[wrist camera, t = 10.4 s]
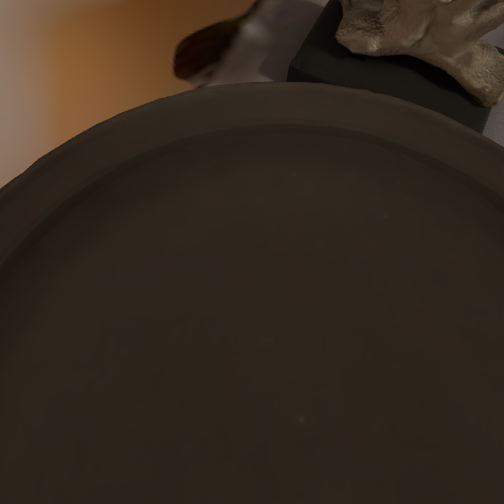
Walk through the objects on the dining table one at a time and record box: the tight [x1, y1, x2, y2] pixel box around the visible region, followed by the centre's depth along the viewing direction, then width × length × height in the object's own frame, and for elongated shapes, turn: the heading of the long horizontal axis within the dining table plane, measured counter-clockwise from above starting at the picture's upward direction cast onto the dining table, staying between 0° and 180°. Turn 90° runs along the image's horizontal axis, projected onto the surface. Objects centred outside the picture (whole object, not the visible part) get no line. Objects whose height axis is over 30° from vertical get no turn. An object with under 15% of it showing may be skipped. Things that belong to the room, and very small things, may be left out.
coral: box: [287, 0, 504, 134], centre depth 33 cm, size 25×20×22 cm
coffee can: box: [0, 81, 504, 504], centre depth 11 cm, size 10×10×14 cm
